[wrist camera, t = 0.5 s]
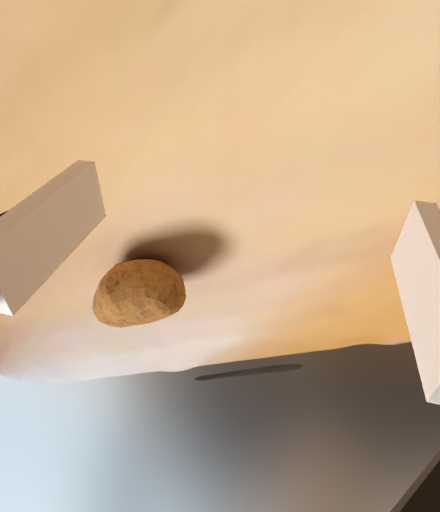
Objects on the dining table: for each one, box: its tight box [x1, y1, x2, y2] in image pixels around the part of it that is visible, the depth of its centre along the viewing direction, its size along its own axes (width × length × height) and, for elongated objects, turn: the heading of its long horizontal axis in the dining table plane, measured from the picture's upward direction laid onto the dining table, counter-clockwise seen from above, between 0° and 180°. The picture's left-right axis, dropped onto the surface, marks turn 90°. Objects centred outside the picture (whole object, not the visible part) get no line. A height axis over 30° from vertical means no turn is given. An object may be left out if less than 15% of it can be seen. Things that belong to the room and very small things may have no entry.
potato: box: [93, 259, 186, 327], centre depth 45 cm, size 10×14×8 cm
